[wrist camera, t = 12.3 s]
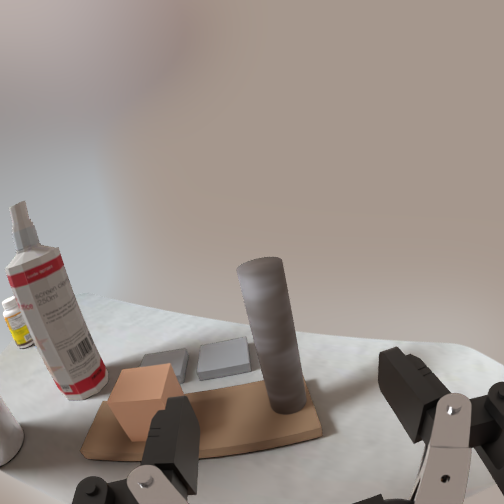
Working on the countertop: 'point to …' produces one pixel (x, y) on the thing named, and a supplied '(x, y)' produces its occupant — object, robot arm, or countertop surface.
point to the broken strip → (207, 359)
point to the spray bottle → (53, 312)
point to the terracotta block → (142, 397)
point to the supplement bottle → (16, 323)
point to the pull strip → (239, 386)
